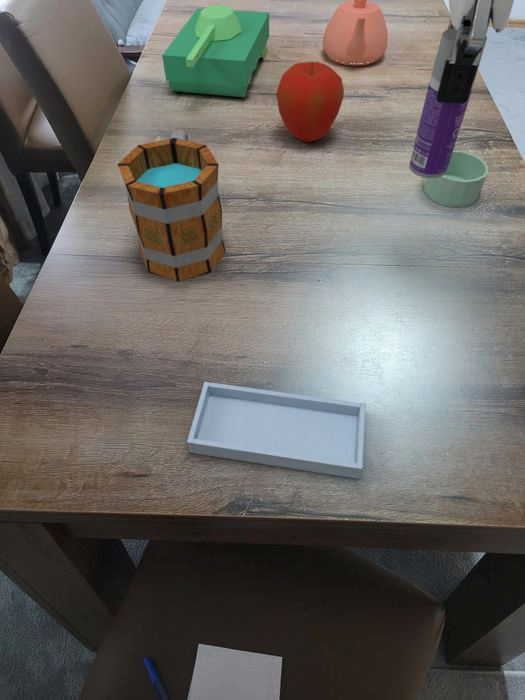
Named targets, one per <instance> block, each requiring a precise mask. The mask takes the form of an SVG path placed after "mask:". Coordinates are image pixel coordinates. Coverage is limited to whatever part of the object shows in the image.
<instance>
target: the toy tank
mask: <svg viewBox="0 0 525 700" xmlns="http://www.w3.org/2000/svg"><path fill="white" fill-rule="evenodd" d="M177 33H178V34H177V35H176V36H175V37H174V39H173V40H172V41H171V42H170V43H169V45H168V47H167V48H166V49H165V50H164V52H163V53H162V55H161V57H162V62H163V69H164V76H165V81H167V83H168V86H169V89H170V90H171V91H172V92H180V93H190V94H201V95H213V96H224V97H237V98H245V97H246V95H247V91H248V86H249V85H250V83H251V80H252V75H253V73H254V72H255V71H256V70H257V67H258V63H259V60H260V59H264V58H265V56H266V53H267V45H268V44H267V43H268V40H269V38H270V12H265V11H251V10H249V11H247V10H234V9H233V8H232V7H231V6H226V5H223V4H217V5H209V6H207V7H205V8H198V7H197V8H196V9H195V10H194V12H193V13H192V15H191V16H190V17H189V19H188V20H187V21H186V23H185V24H184V26H183V27H182V28H181V29H180V31H179V32H177ZM260 56H261V57H260Z"/></svg>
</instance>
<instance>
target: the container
mask: <svg viewBox="0 0 525 700" xmlns="http://www.w3.org/2000/svg"><path fill="white" fill-rule="evenodd" d="M447 29H448V28H447ZM447 29H445V30H444V31H443V32H442V34H441V38H440V41H439V46H438V50H437V53H436V56H435V60H434V64H433V68H432V71H431V75H430V78H429V82H428V86H427V91H426V95H425V98H424V103H423V107H422V112H421V116H420V119H419V123H418V128H417V133H416V135H415V140H414V144H413V148H412V153H411V156H410V161H409V165H408V166H409V170H410V171H411V172H412V173H413V174H414V175H416V176H418V177H421V178H424V179H425V178H438V177H441V176H443V175H444V174H445V173H446V171H447V168H448V165H449V162H450V159H451V156H452V153H453V150H455V146H456V143H457V140H458V136H459V133H460V131H461V127H462V124H463V121H464V117H465V114H466V111H467V108H468V105H469V101H470V98H471V96H472V92H473V89H474V85H475V82H476V78H477V75H478V71H479V67H480V64H481V60H482V57H483V53H484V50H485V47H486V43H487V39H488V37H487V36H486V37H485V41H484V45H483V48H482V52H481V56H480V60H479V65H478V68H477V71H476V75H475V78H474V81H473V84H472V88H471V91H470V94H469V97H468V100H467V102H466V103H464V104H459V103H445V102H438V101H437V93H438V89H439V85H440V81H441V77H442V74H443V70H444V66H445V62H446V60H449V59H450V54H451V50H452V46H453V41H454V37H455V33H456V29H455V28H452V29H448V30H447ZM467 37H468V35H464V34H462V38H461V42H460V43H462V41H463V40H467Z"/></svg>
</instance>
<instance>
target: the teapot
mask: <svg viewBox="0 0 525 700" xmlns="http://www.w3.org/2000/svg"><path fill="white" fill-rule="evenodd" d="M388 34H389V33H388V27H387V23H386V20H385V17H384V14H383V11H382V10H381V7H380V6H379V5H378V4H377V3H375V2H374V1H370V0H348V1H344V2H342V3H340V4H339V6H338V7H337V8H336V10H335V11H334V13H333V14H332V16H331V18H330V19H329V21H328V23H327V25H326V27H325V30H324V34H323V37H322V48H323V50H324V52H325V54H326V55H327V57H328V58H329V59H330V60H331V61H333V62H336V63H337V64H341V65H346V66H356V67H357V66H366V65H370V64H373V63H375V62H377V61H378V60H379V59H380V58H381V57H382V56H383V55H384V54H385V53H386V51H387V49H388V42H389V35H388ZM336 60H337V61H336ZM372 61H373V62H372ZM343 62H344V63H343ZM367 62H369V63H367ZM350 63H352V64H350ZM353 63H355V64H353ZM357 63H358V64H357ZM359 63H363V64H359Z"/></svg>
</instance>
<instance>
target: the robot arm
mask: <svg viewBox="0 0 525 700" xmlns="http://www.w3.org/2000/svg"><path fill="white" fill-rule="evenodd" d="M514 3H515V0H448V8H449V15H450V19H449V21H448V26H447V29H446V30H448V29H452V28H455V29H456V33H455V37H454V41H453V46H452V50H451V54H450V59H449V60H446V62H445V66H444V70H443V74H442V77H441V81H440V85H439V89H438V93H437V101H438V102H445V103H459V104H464V103H466V102H467V100H468V97H469V94H470V91H471V88H472V84H473V81H474V78H475V75H476V71H477V68H478V65H479V66H480V64H479V60H480V56H481V52H482V48H483V45H484V41H485V37H487V33H488V30H489V25H490V22H491V24H492V25H491V26H492V29H493V30H494V31H495V33H497V34H500V33H501V32H503V31H504V30H505V29H506V28H507V26H508V23H509V19H510V15H511V13H512V10H513V6H514ZM462 34H464V35H468V37H467V40H463V41H462V43H460V42H461V38H462ZM478 69H479V68H478ZM477 72H478V71H477ZM476 76H477V75H476ZM475 79H476V78H475Z"/></svg>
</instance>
